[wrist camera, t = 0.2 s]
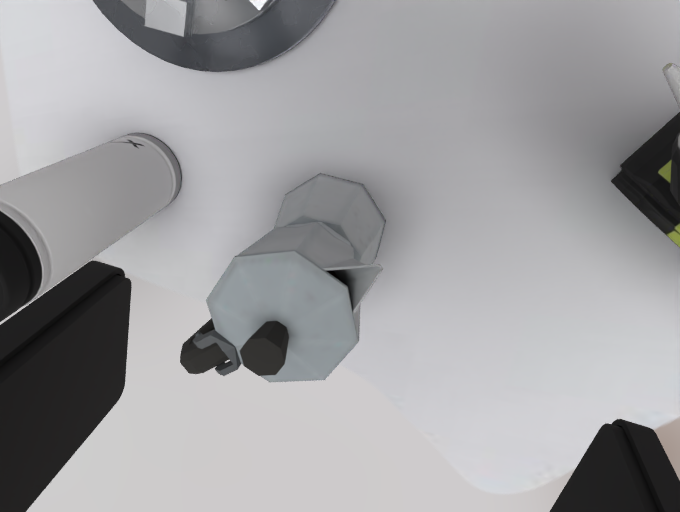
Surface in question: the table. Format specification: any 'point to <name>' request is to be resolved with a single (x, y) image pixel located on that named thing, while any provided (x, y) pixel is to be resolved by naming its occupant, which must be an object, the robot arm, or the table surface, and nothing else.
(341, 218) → the coffee maker
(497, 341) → the table surface
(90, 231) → the travel mug
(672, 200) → the cordless drill
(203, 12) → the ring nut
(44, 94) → the table surface
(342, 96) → the table surface
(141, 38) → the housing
